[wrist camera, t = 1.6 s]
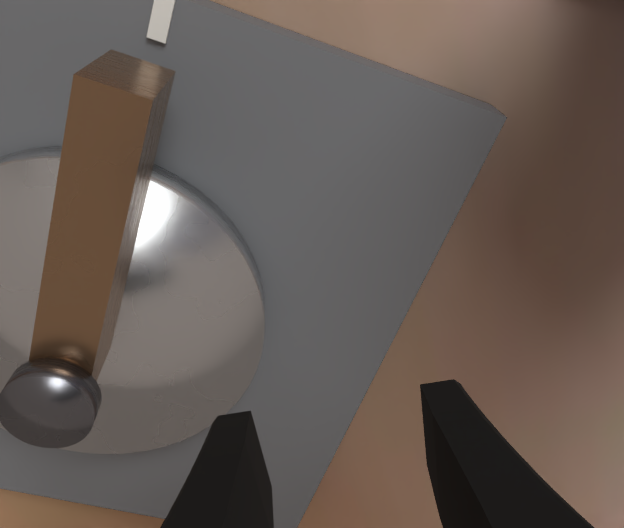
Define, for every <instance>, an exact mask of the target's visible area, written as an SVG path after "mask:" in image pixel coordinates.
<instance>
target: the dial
mask: <svg viewBox="0 0 624 528" xmlns="http://www.w3.org/2000/svg"><path fill="white" fill-rule="evenodd" d="M175 72H176V71H174V70H171V69H168V68H165V67H162V66H159V65H156V64H153V63H151V62H148V61H145V60H142V59H139V58H136V57H133V56H130V55H127V54H124V53H121V52H118V51H115V50H112V49H111V50H109V51H108V52H106V53H105V54H103V55H102V56H100V57H99V58H97V59H96V60H94V61H93V62H91V63H90V64H88V65H87V66H85V67H84V68H82V69H81V70H79V71H78V72H76V73H75V74H73V81H72V87H71V93H70V100H69V106H68V113H67V119H66V126H65V132H64V138H63V145H62V146H48V147H40V148H32V149H27V150H23V151H20V152H16V153H12V154H9V155H5V156H3V157H1V158H0V428H2V429H4V430H6V431H8V432H9V433H10V434H12V435H13V436H14V437H16V438H17V439H19V440H21V441H23V442H25V443H28V444H30V445H33V446H37V447H43V448H59V449H63V450H69V451H76V452H82V453H95V454H125V453H134V452H142V451H148V450H152V449H157V448H161V447H165V446H168V445H171V444H174V443H177V442H180V441H182V440H184V439H187V438H189V437H191V436H193V435H195V434H197V433H199V432H201V431H202V430H204V429H206V428H207V427H209V426H211V425H212V423H213V421H214V420H215V419H216V417H217V416H219V415H225V414H226V413H227V412H228V411H229V410H230V409H231V408H232V407H233V406H234V405H235V404H236V403H237V402H238V401H239V399H240V398H241V397H242V395H243V394H244V392H245V391H246V389H247V388H248V386H249V385H250V383H251V381H252V379H253V377H254V374H255V372H256V370H257V368H258V364H259V361H260V358H261V354H262V348H263V341H264V330H265V295H264V290H263V284H262V279H261V275H260V272H259V269H258V267H257V264H256V261H255V258H254V256H253V254H252V252H251V250H250V248H249V246H248V244H247V243H246V241H245V239H244V238H243V236H242V235H241V233H240V232H239V230H238V229H237V228H236V226H235V225H234V223H233V222H232V221H231V220H230V219H229V218H228V216H227V215H226V214H225V213H224V212H223V211H222V210H221V209H220V208H219V207H218V205H216V204H215V203H214V202H213V201H212V200H211V199H209V198H208V197H207V196H206V195H205V194H204V193H202V192H201V191H200V190H199V189H197V188H196V187H194V186H193V185H191V184H190V183H188V182H187V181H185V180H184V179H182V178H181V177H179V176H178V175H176V174H174V173H172V172H170V171H168V170H166V169H164V168H162V167H160V166H158V165H156V164H154V162H155V157H156V153H157V149H158V145H159V140H160V136H161V132H162V128H163V123H164V119H165V115H166V111H167V106H168V102H169V98H170V94H171V89H172V85H173V81H174V77H175Z"/></svg>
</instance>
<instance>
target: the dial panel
mask: <svg viewBox="0 0 624 528" xmlns="http://www.w3.org/2000/svg"><path fill="white" fill-rule="evenodd" d="M111 49H112V50H115V51H118V52H121V53H124V54H127V55H130V56H133V57H136V58H139V59H142V60H145V61H148V62H151V63H153V64H156V65H159V66H162V67H165V68H168V69H171V70H174V71H176V72H175V77H174V81H173V85H172V89H171V94H170V98H169V102H168V106H167V111H166V115H165V119H164V123H163V128H162V132H161V136H160V140H159V145H158V149H157V153H156V157H155V162H154V164H156V165H158V166H160V167H162V168H164V169H166V170H168V171H170V172H172V173H174V174H176V175H178V176H179V177H181V178H182V179H184V180H185V181H187V182H188V183H190V184H191V185H193V186H194V187H196V188H197V189H199V190H200V191H201V192H202V193H204V194H205V195H206V196H207V197H208V198H209V199H211V200H212V201H213V202H214V203H215V204H216V205H218V207H219V208H220V209H221V210H222V211H223V212H224V213H225V214H226V215H227V216H228V218H229V219H230V220H231V221H232V222H233V223H234V225H235V226H236V228H237V229H238V230H239V232H240V233H241V235H242V236H243V238H244V239H245V241H246V243H247V244H248V246H249V248H250V250H251V252H252V254H253V256H254V258H255V261H256V264H257V267H258V269H259V272H260V275H261V279H262V284H263V290H264V295H265V330H264V341H263V348H262V354H261V358H260V361H259V364H258V368H257V370H256V372H255V374H254V377H253V379H252V381H251V383H250V385H249V386H248V388H247V389H246V391H245V392H244V394H243V395H242V397H241V398H240V399H239V401H238V402H237V403H236V404H235V405H234V406H233V407H232V408H231V409H230V410H229V411H228V412H227V413H226V414H232V413H238V412H245V411H251V413H252V417H253V420H254V424H255V428H256V431H257V435H258V438H259V442H260V446H261V449H262V453H263V456H264V460H265V464H266V467H267V471H268V475H269V478H270V482H271V485H272V498H273V520H274V528H297V527H298V525H299V523H300V521H301V519H302V517H303V515H304V513H305V511H306V509H307V507H308V505H309V503H310V501H311V500H312V498H313V496H314V494H315V492H316V490H317V488H318V486H319V484H320V482H321V480H322V478H323V476H324V474H325V472H326V470H327V468H328V466H329V464H330V462H331V460H332V458H333V457H334V455H335V453H336V451H337V449H338V447H339V445H340V443H341V441H342V439H343V437H344V435H345V433H346V431H347V429H348V427H349V425H350V423H351V421H352V419H353V417H354V415H355V414H356V412H357V410H358V408H359V406H360V404H361V402H362V400H363V398H364V396H365V394H366V392H367V390H368V388H369V386H370V384H371V382H372V380H373V378H374V376H375V374H376V373H377V371H378V369H379V367H380V365H381V363H382V361H383V359H384V357H385V355H386V353H387V351H388V349H389V347H390V345H391V343H392V341H393V339H394V337H395V335H396V333H397V331H398V330H399V328H400V326H401V324H402V322H403V320H404V318H405V316H406V314H407V312H408V310H409V308H410V306H411V304H412V302H413V300H414V298H415V296H416V294H417V292H418V290H419V288H420V287H421V285H422V283H423V281H424V279H425V277H426V275H427V273H428V271H429V269H430V267H431V265H432V263H433V261H434V259H435V257H436V255H437V253H438V251H439V249H440V247H441V246H442V244H443V242H444V240H445V238H446V236H447V234H448V232H449V230H450V228H451V226H452V224H453V222H454V220H455V218H456V216H457V214H458V212H459V210H460V208H461V206H462V204H463V203H464V201H465V199H466V197H467V195H468V193H469V191H470V189H471V187H472V185H473V183H474V181H475V179H476V177H477V175H478V173H479V171H480V169H481V167H482V165H483V163H484V161H485V160H486V158H487V156H488V154H489V152H490V150H491V148H492V146H493V144H494V142H495V140H496V138H497V136H498V134H499V132H500V130H501V128H502V126H503V124H504V122H505V120H506V119H507V117H506V116H505V115H503V114H502V113H501V112H500V111H498V110H497V109H496V108H495V107H493V106H492V105H491V104H488V103H485V102H483V101H480V100H477V99H475V98H472V97H469V96H466V95H464V94H461V93H458V92H456V91H453V90H450V89H447V88H445V87H442V86H439V85H437V84H434V83H431V82H429V81H426V80H423V79H420V78H418V77H415V76H412V75H410V74H407V73H404V72H401V71H399V70H396V69H393V68H391V67H388V66H385V65H382V64H380V63H377V62H374V61H372V60H369V59H366V58H364V57H361V56H358V55H355V54H353V53H350V52H347V51H345V50H342V49H339V48H336V47H334V46H331V45H328V44H326V43H323V42H320V41H317V40H315V39H312V38H309V37H307V36H304V35H301V34H299V33H296V32H293V31H290V30H288V29H285V28H282V27H280V26H277V25H274V24H271V23H269V22H266V21H263V20H261V19H258V18H255V17H252V16H250V15H247V14H244V13H242V12H239V11H236V10H234V9H231V8H228V7H225V6H223V5H220V4H217V3H215V2H212V1H209V0H0V158H1V157H3V156H5V155H9V154H12V153H16V152H20V151H23V150H27V149H32V148H40V147H48V146H62V145H63V138H64V132H65V126H66V119H67V113H68V106H69V100H70V93H71V87H72V81H73V74H75V73H76V72H78V71H79V70H81V69H82V68H84V67H85V66H87V65H88V64H90V63H91V62H93V61H94V60H96V59H97V58H99V57H100V56H102V55H103V54H105V53H106V52H108V51H109V50H111ZM210 428H211V426H209V427H207V428H206V429H204V430H202V431H201V432H199V433H197V434H195V435H193V436H191V437H189V438H187V439H184V440H182V441H180V442H177V443H174V444H171V445H168V446H165V447H161V448H157V449H152V450H148V451H142V452H134V453H125V454H95V453H82V452H76V451H69V450H63V449H59V448H43V447H37V446H33V445H30V444H28V443H25V442H23V441H21V440H19V439H17V438H16V437H14V436H13V435H12V434H10V433H9V432H8V431H6V430H4V429H2V428H0V488H1V489H6V490H11V491H17V492H22V493H28V494H33V495H38V496H44V497H49V498H55V499H60V500H65V501H71V502H76V503H82V504H87V505H92V506H98V507H103V508H109V509H114V510H119V511H125V512H130V513H136V514H141V515H146V516H152V517H157V518H163V519H166V517H167V515H168V513H169V511H170V509H171V507H172V505H173V504H174V502H175V500H176V498H177V496H178V494H179V492H180V490H181V489H182V487H183V485H184V483H185V481H186V479H187V477H188V475H189V473H190V471H191V469H192V467H193V465H194V463H195V461H196V459H197V456H198V454H199V452H200V450H201V448H202V446H203V444H204V441H205V439H206V437H207V435H208V432H209V430H210Z"/></svg>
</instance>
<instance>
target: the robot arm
mask: <svg viewBox="0 0 624 528" xmlns="http://www.w3.org/2000/svg"><path fill="white" fill-rule="evenodd" d="M420 388H421V400H422V412H423V423H424V435H425V447H426V459H427V467H428V471H429V475H430V479H431V483H432V487H433V492H434V496H435V500H436V504H437V508H438V512H439V516H440V519H441V522H442V525H443V528H594V527H593V526H592V525H591V524H590V523H589V522H587V521H586V520H585V519H584V518H583V517H582V516H581V515H580V514H579V513H578V512H576V511H575V510H574V509H573V508H572V507H571V506H570V505H569V504H568V503H567V502H566V501H565V500H564V499H563V498H562V497H561V496H560V495H559V494H558V493H557V492H555V491H554V490H553V489H552V488H551V487H550V486H549V485H548V484H547V483H546V482H545V481H544V480H543V479H542V478H541V477H540V476H539V475H538V474H537V473H536V472H535V470H534V469H533V468H532V467H531V466H530V465H529V464H528V463H527V462H526V461H525V460H524V459H523V458H522V457H521V456H520V455H519V454H518V453H517V451H516V450H515V449H514V448H513V447H512V446H511V445H510V444H509V443H508V442H507V441H506V439H505V438H504V437H503V436H502V435H501V434H500V433H499V432H498V430H497V429H496V428H495V427H494V426H493V425H492V423H491V422H490V421H489V420H488V419H487V418H486V416H485V415H484V414H483V413H482V411H481V410H480V409H479V408H478V407H477V405H476V404H475V403H474V401H473V400H472V399H471V398H470V396H469V395H468V394H467V392H466V391H465V390H464V388H463V387H462V385H461V384H460V383H459V382H457V381H456V380H447V381H441V382H434V383H428V384H421V385H420ZM160 528H274V520H273V498H272V485H271V482H270V478H269V475H268V471H267V467H266V464H265V460H264V456H263V453H262V449H261V446H260V442H259V438H258V435H257V431H256V428H255V424H254V420H253V417H252V413H251V411H245V412H238V413H232V414H225V415H219V416H217V417H216V419H215V420H214V421H213V423H212V425H211V428H210V430H209V432H208V435H207V437H206V439H205V441H204V444H203V446H202V448H201V450H200V452H199V454H198V456H197V459H196V461H195V463H194V465H193V467H192V469H191V471H190V473H189V475H188V477H187V479H186V481H185V483H184V485H183V487H182V489H181V490H180V492H179V494H178V496H177V498H176V500H175V502H174V504H173V505H172V507H171V509H170V511H169V513H168V515H167V517H166V519H165V520H164V522H163V524H162V526H161V527H160Z"/></svg>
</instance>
